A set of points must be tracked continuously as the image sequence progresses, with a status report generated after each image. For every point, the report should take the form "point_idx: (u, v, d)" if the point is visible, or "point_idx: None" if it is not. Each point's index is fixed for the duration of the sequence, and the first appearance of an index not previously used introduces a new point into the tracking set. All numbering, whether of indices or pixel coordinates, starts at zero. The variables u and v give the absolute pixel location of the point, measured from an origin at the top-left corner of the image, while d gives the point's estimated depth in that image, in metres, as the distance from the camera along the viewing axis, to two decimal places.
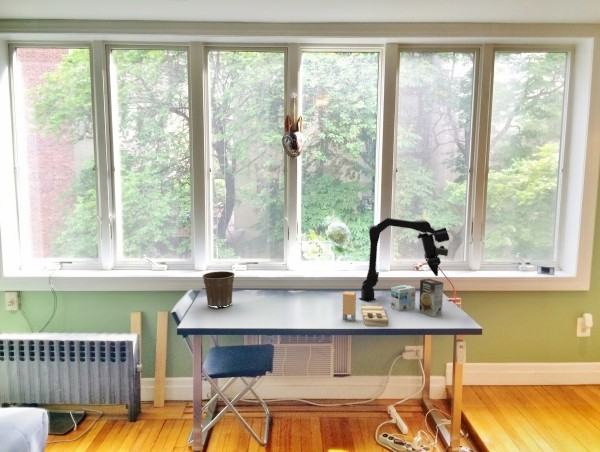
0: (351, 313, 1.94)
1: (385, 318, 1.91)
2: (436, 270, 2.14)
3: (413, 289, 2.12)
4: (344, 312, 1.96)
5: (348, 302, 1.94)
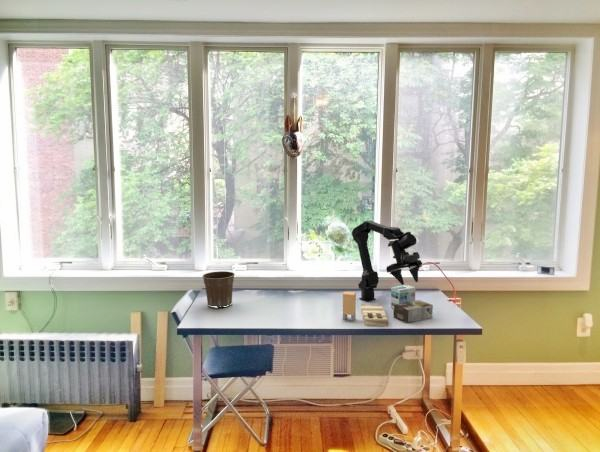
0: (351, 313, 1.94)
1: (385, 318, 1.91)
2: (399, 278, 1.99)
3: (413, 289, 2.12)
4: (344, 312, 1.96)
5: (348, 302, 1.94)
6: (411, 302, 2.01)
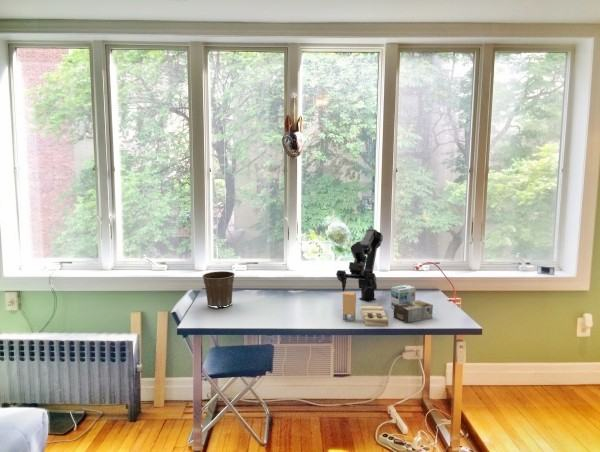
0: (351, 313, 1.94)
1: (385, 318, 1.91)
2: None
3: (413, 289, 2.12)
4: (344, 312, 1.96)
5: (348, 302, 1.94)
6: (411, 302, 2.01)
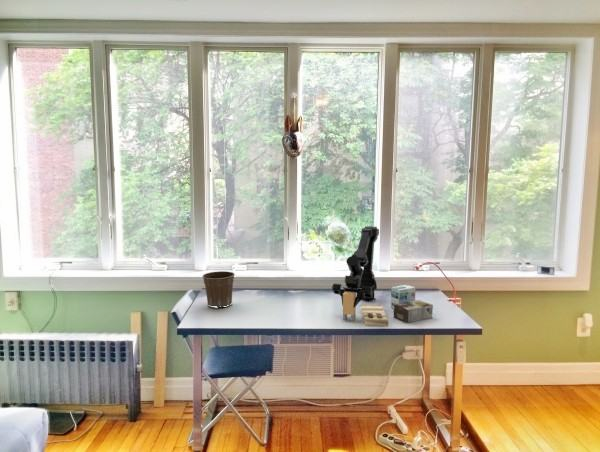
0: (351, 313, 1.94)
1: (385, 318, 1.91)
2: None
3: (413, 289, 2.12)
4: (344, 312, 1.96)
5: (348, 302, 1.94)
6: (411, 302, 2.01)
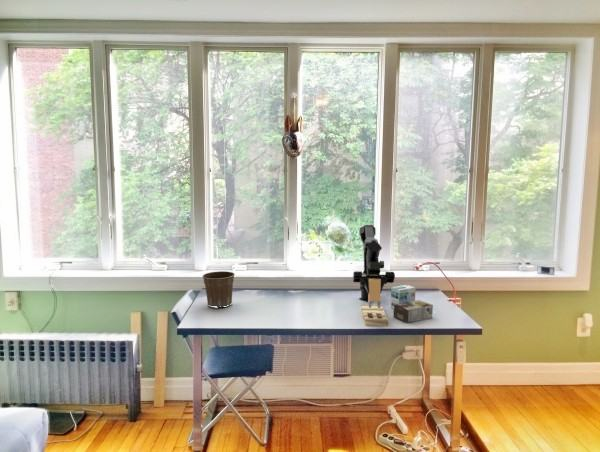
0: (378, 299, 1.92)
1: (385, 318, 1.91)
2: (366, 286, 1.94)
3: (413, 289, 2.12)
4: (371, 299, 1.92)
5: (375, 289, 1.91)
6: (411, 302, 2.01)
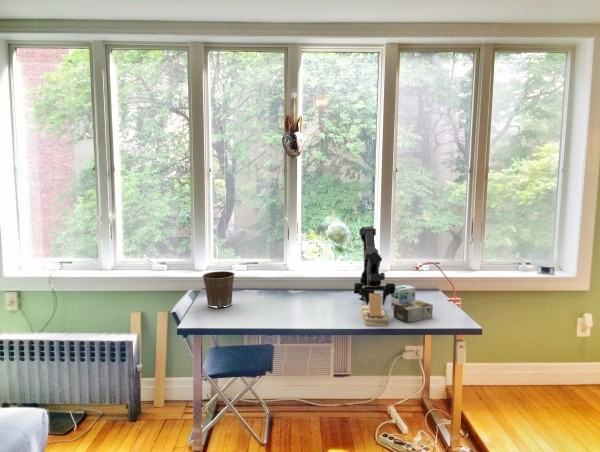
0: (379, 314, 1.92)
1: (385, 318, 1.91)
2: (364, 298, 1.94)
3: (413, 289, 2.12)
4: (371, 314, 1.93)
5: (376, 304, 1.92)
6: (411, 302, 2.01)
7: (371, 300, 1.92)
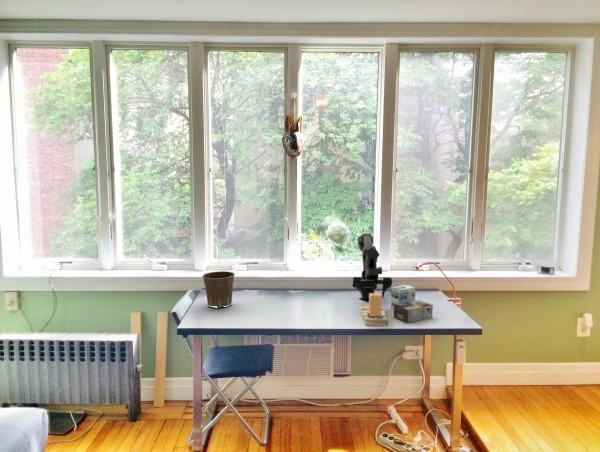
0: (379, 314, 1.92)
1: (385, 318, 1.91)
2: (360, 291, 2.04)
3: (413, 289, 2.12)
4: (371, 314, 1.93)
5: (376, 304, 1.92)
6: (411, 302, 2.01)
7: (371, 300, 1.92)
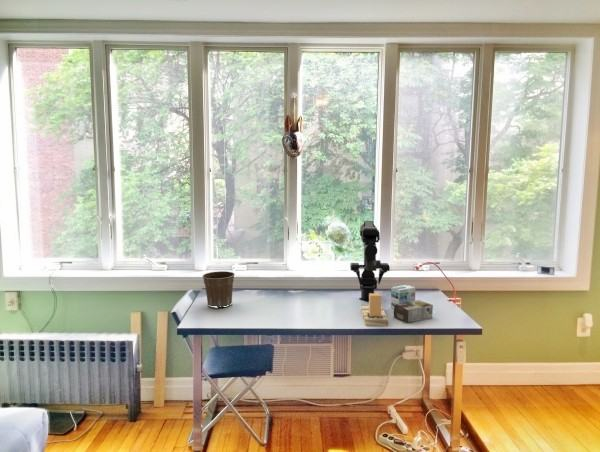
0: (379, 314, 1.92)
1: (385, 318, 1.91)
2: (358, 277, 2.10)
3: (413, 289, 2.12)
4: (371, 314, 1.93)
5: (376, 304, 1.92)
6: (411, 302, 2.01)
7: (371, 300, 1.92)
